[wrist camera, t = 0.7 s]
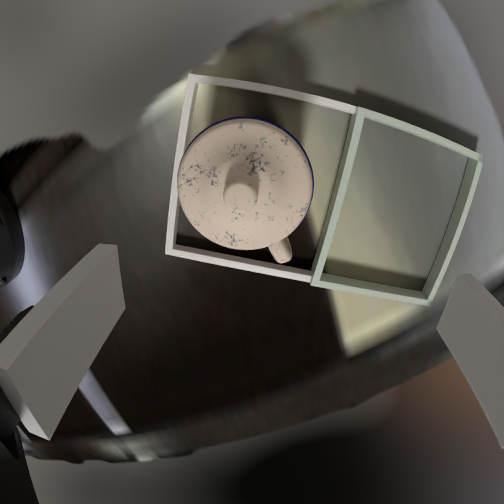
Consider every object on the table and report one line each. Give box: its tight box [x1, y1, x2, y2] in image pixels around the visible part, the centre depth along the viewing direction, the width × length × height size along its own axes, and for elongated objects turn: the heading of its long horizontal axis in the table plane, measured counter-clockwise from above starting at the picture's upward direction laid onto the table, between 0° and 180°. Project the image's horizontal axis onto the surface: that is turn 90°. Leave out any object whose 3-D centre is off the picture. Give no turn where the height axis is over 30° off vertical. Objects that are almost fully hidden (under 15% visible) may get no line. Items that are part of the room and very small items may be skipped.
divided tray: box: [165, 74, 484, 306], centre depth 28 cm, size 29×17×2 cm, turn 79°
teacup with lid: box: [177, 117, 314, 263], centre depth 24 cm, size 12×9×12 cm
